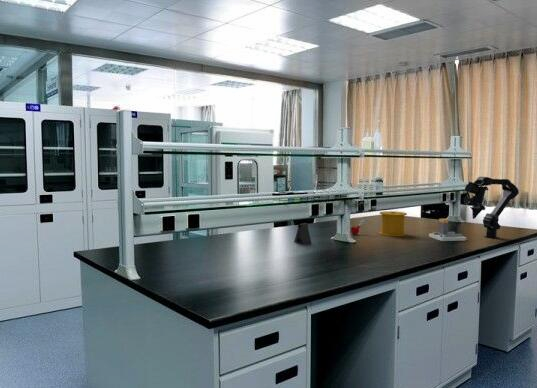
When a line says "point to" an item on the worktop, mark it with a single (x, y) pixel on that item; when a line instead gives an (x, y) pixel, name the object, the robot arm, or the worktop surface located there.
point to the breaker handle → (443, 226)
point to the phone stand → (303, 234)
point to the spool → (392, 223)
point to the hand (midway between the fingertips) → (473, 218)
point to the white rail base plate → (448, 236)
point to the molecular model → (356, 229)
